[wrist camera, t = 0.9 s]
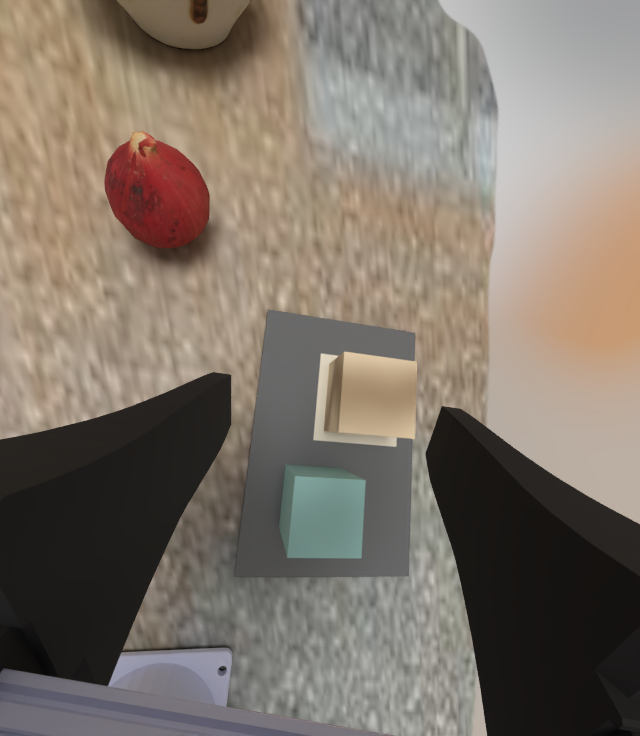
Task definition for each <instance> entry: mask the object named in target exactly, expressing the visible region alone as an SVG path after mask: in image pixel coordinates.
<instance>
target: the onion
mask: <svg viewBox="0 0 640 736" xmlns="http://www.w3.org/2000/svg"><path fill="white" fill-rule="evenodd" d="M105 191H106V194H107V197H108V200H109V203H110V206H111V208H112V211H113V213H114V215H115V217H116V218H117V219H118V220H119V221H120V222H121V223H122V224H123V225H124V227H125V228H126V229H127V230H128V231H129V232H130V233H131V234H132V235H133V236H134V238H136V239H138V240H140V241H142V242H145V243H147V244H149V245H151V246H153V247H157V248H177V247H180V246H183V245H185V244H188V243H190V242H191V241H192V240H193V239H195V238H196V237H197V236H198V235H199V234H201V233H202V232H203V230H204V228H205V226H206V224H207V222H208V220H209V192H208V189H207V186H206V184H205V182H204V180H203V178H202V176H201V174H200V172H199V170H198V169H197V168H196V167H195V165H194V164H193V163H192V162H191V161H190V160H189V159H187V158H186V157H185V156H184V155H183V154H182V153H181V152H180V151H178V150H177V149H175V148H173V147H171V146H169V145H167V144H165V143H163V142H160V141H156V140H155V139H154V138H153V137H152V136H150V135H149V134H147V133H146V132H144V131H140V132H132V137H131V139H130V141H128V142H126V143H125V144H123V145H121V146H120V147H118V148H117V149H116V151H115V152H114V153H113V155H112V156H111V158H110V159H109V161H108V163H107V168H106V175H105Z"/></svg>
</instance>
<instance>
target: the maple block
mask: <svg viewBox="0 0 640 736" xmlns="http://www.w3.org/2000/svg"><path fill="white" fill-rule="evenodd" d="M416 377H417V362H415V361H408V360H401V359H394V358H387V357H380V356H373V355H366V354H358V353H351V352H343V353H342V354H341V355H339V356H338V357H337V358H336V359H334V360H333V361H332V362H331V363H329V372H328V384H327V397H326V409H325V421H324V431H330V432H341V433H352V434H364V435H375V436H386V437H398V438H410V439H415V418H416Z"/></svg>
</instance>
